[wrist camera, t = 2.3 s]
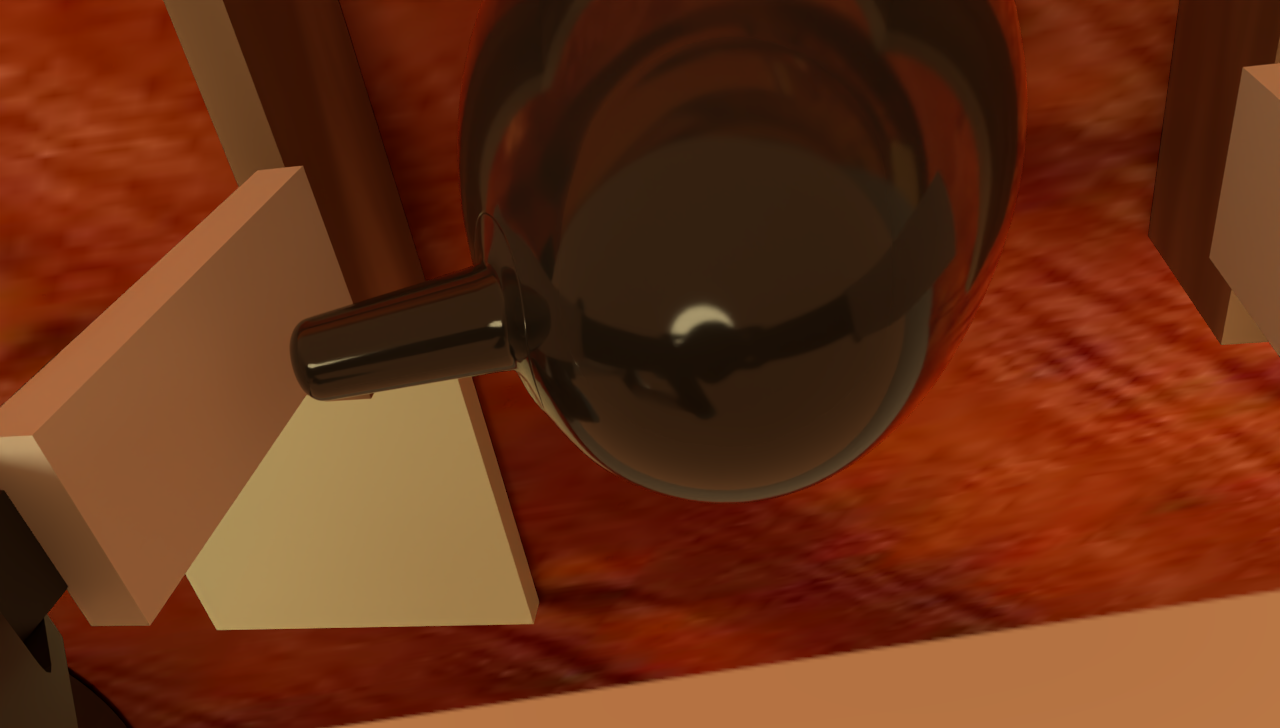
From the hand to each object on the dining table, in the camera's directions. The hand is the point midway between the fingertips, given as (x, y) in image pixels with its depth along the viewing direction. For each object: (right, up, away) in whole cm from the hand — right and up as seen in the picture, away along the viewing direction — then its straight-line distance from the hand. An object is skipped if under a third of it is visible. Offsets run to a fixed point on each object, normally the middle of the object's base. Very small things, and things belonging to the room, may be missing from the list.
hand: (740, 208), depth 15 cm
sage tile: (-12, -6, +18) cm, 23 cm away
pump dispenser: (+1, +6, +9) cm, 11 cm away
